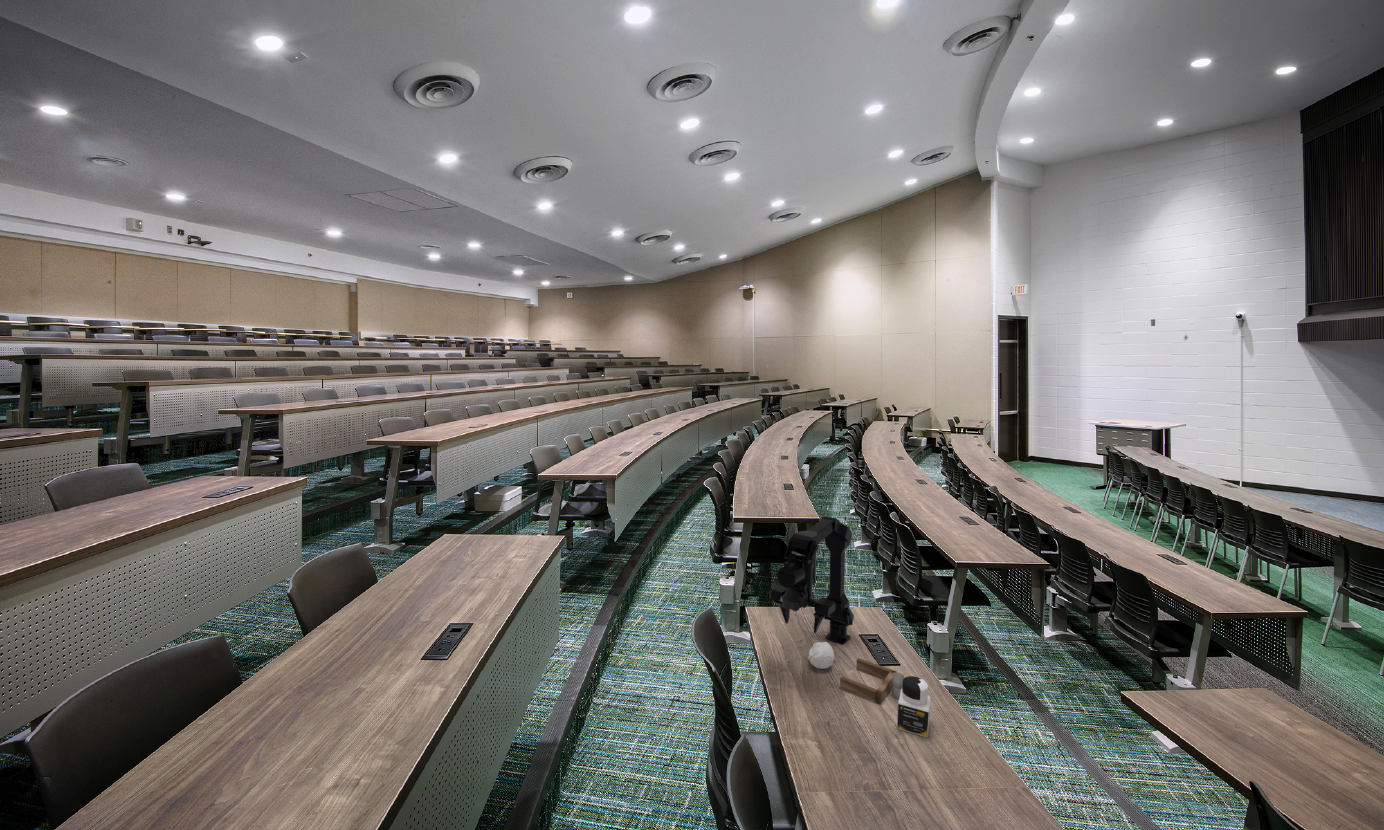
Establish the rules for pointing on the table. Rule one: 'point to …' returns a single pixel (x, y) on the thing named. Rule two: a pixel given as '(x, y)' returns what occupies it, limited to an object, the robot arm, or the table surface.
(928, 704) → the medicine bottle
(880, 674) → the carrier cradle
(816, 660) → the white carved ball
